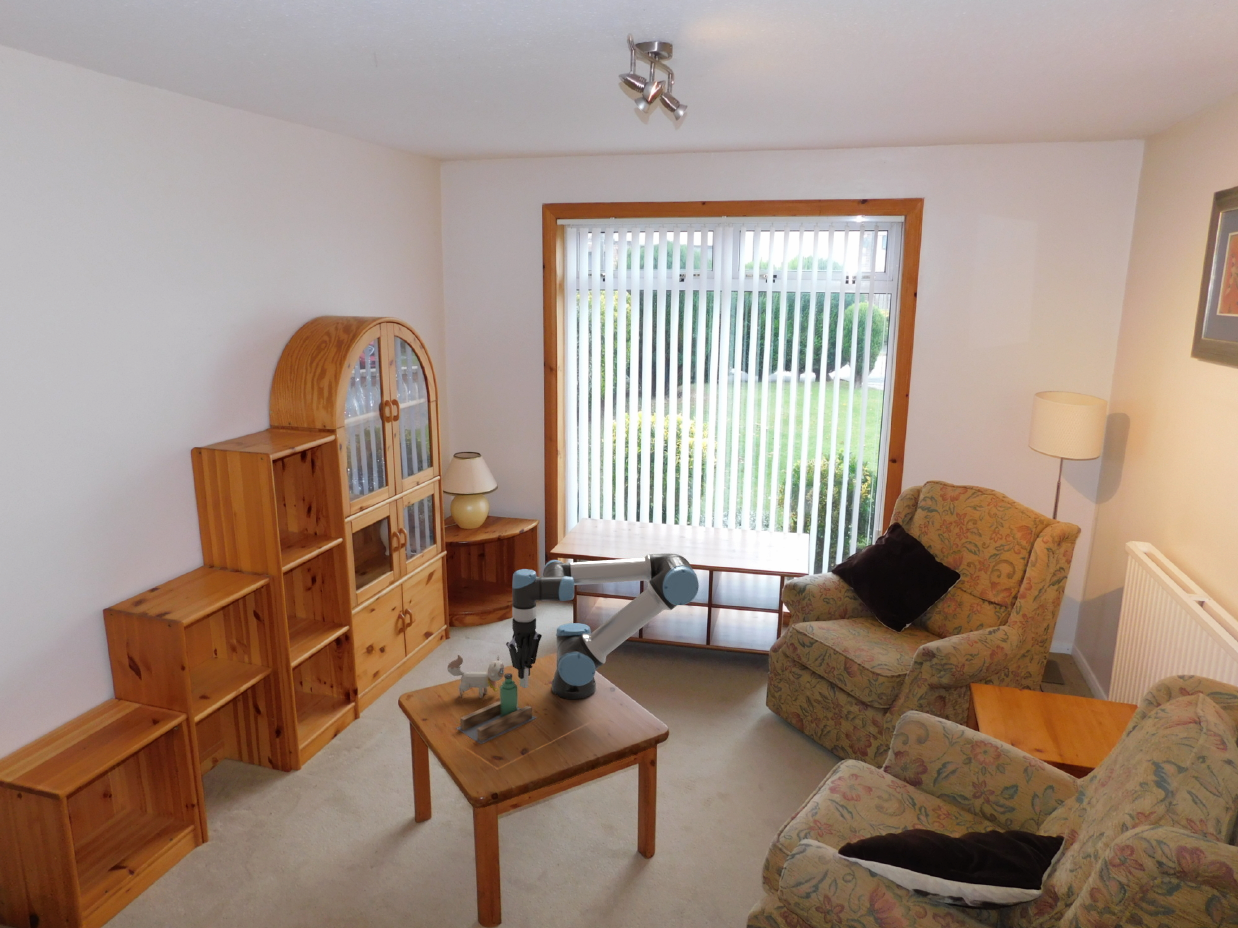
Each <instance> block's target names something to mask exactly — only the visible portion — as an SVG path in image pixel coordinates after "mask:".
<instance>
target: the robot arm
mask: <svg viewBox="0 0 1238 928" xmlns="http://www.w3.org/2000/svg"><path fill="white" fill-rule="evenodd" d="M641 581H646V582H647V588H646V589H645V590H644V591H643V592H641V593H639V595H638V596H636V597H635V598H634V599H633V600H631V601H630V602H628V604H626V605H625V606H624V607H622V608H621V609H620V610H618V612H616V613H615V614H614V615H612V616H611V617H610V618H609V619H607V620H606V621H605V622H604V623H602V624H601V625H600V626H599V627H597V628H596V629H595V630H593V631H592V630H591V626H589V625H587V624H585V623H578V622H575V623H574V622H573V623H572V622H571V623H565V624H561V625H559V626H558V627H557V628H556V634H555V636H556V669H555V672H554V676H553V678H552V682H551V692H552V693H553V695H555V696H556V697H559V698H560V699H565V700H579V699H585V698H588V697H590V696H591V695H593V694H594V693H595V692H596V690H597V688H596V687H597V685H596V684H597V682H596V679H595V674H596V670H598V669H599V668H601V666H603V665H604V664H605V663H606V660H607V656H608V655H609V654H610V653H612V651H614V650H615V649H617V648H618V647H619V646H621V645H622V644H623V643H624V642H625V641H626V640H627V639H629V638H630V637H632V636H633V635H634V634H635V633H636V632H638V631H639V630H640V629H642V628H643V627H644V626H646V625H647V624H648V623H649V622H650V621H652V620H653V619H654V618H656V617H657V616H658V615H659V614H661V613H662V612H664V611H672V610H674V608H676V607H678V606H685V605H687V604H690V603H691V602H692V601H693V600H694V599H695V598H696V596H697V594H698V593H699V586H700V585H699V580H698V575H697V574H696V572H695V570H694V569H693V568H692V566H691V564H690V562H689V561H688V560H687V558H685V557H684V556H683V555H679V554H677V553H652V554H650V553H649V554H646V555H645V556H644V557H638V558H637V557H636V558H635V557H634V558H622V559H621V558H620V559H608V560H607V559H605V560H593V561H592V560H590V561H579V562H577V561H576V562H563V561H560V560H558V559H551V560H549V561H548V562H546V564H545V565H544V568H543V573H542V576H538V575H537V572H536V571H535V570H533V569H529V568H528V569H527V568H522V569H518V570H516V571H514V573H513V574H512V586H511V587H512V588H511V591H512V592H511V593H512V594H511V595H512V597H511V599H512V601H511V602H512V622H511V623H512V625H511V626H512V632H513V634H512V639H511V640H510V641H507V642H506V643H505V645H506V647H507V648H508V651H509V656H510V660H511V664H512V667H513V669H516V670H517V677H518V678H519V686H520V687H522V688H523V689H527V688H529V684H530V683H529V677H530V675H531V669H532V668H533V665H534V664H536V661H537V655H538V650H539V646H540V641H541V639H542V636H543V635H542V634H541V633H539V632H538V631H536V629H537V618H536V617H537V602H538V601H539V602H540V601H541V602H543V601H544V602H545V601H546V602H547V601H548V602H551V601H552V602H553V601H554V602H555V601H558V602H564V601H572V600H573V599H574V597H575V586H578V585H592V584H593V585H595V584H596V585H597V584H608V583H609V584H611V583H613V584H614V583H624V582H625V583H626V582H627V583H629V582H641Z"/></svg>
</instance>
